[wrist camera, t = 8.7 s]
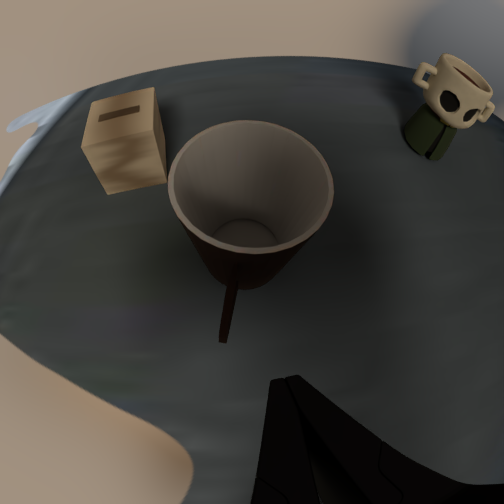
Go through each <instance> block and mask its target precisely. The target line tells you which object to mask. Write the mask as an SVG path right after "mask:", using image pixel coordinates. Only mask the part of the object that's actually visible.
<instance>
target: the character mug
mask: <svg viewBox="0 0 504 504" xmlns="http://www.w3.org/2000/svg"><path fill="white" fill-rule="evenodd" d="M426 71H428V72H430V73H431V75H430V77H429V79H428V80H427V82H425V81H423V80H422V77H423V75H424V74H425V72H426ZM412 82H413V83H414V84H415V85H417V86H419V87H421V88H423V89H424V90H423V97H424V99H425V100H426V102H427V103H425V104H423V105H422V106H421V107H420V108H419V109H418V111H417V112H416V113H415V114H414V115H413V116H412V117H411V119H410V120H409V121H408V123H407V124H406V125H405V129H404V132H405V136H406V140H407V141H408V143H409V144H410V145H411V147H412V148H413V149H414V150H415V151H417V152H418V153H419V154H420V155H422V156H424V154H425V153H426V152H427V151H428V152H432V155H431V156H430V158H429V159H430V160H439V159H440V158H441V157H442V156H443V155H444V153H445V152H446V150H447V149H448V147H449V145H450V143H451V141H452V140H453V138H454V136H455V134H456V132H457V128H458V129H464V128H469V127H470V126H471V125H472V124H474V122H475V121H476V120H479V121H480V122H483V123H484V122H485V121H486V120H487V119H488V118H489V116H490V115H491V114H492V112H493V111H494V108H495V106H494V104H493V103H491V102H490V101H489V100H490V98H491V97H492V95H493V91H492V88H491V87H490V86H489V84H488V83H487V81H486V80H485V79H484V78H483V77H482V76H480V74H479V73H478V72H476V71H475V70H474V69H473V68H472V67H470V66H469V65H468V64H466V63H465V62H463V61H462V60H460V59H459V58H457V57H455V56H453V55H450V54H447V53H443V54H442V55H441V56H440V58H439V60H438V62H437V64H436V66H435V67H433V66H432V65H429V64H427V63H425V62H422V63H421V64H420V65H419V67H418V69H417V71H416V72H415V74H414V76H413V79H412ZM485 106H486V108H485ZM484 108H485V110H484ZM483 110H484V111H483ZM482 112H483V113H482ZM481 113H482V114H481Z"/></svg>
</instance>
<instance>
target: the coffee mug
mask: <svg viewBox="0 0 504 504" xmlns="http://www.w3.org/2000/svg"><path fill="white" fill-rule="evenodd" d="M168 192H169V197H170V201H171V204H172V206H173V208H174V210H175V212H176V214H177V216H178V218H179V220H180V222H181V223H182V225H183V227H184V229H185V230H186V232H187V234H188V236H189V237H190V239H191V241H192V242H193V244H194V246H195V248H196V249H197V251H198V253H199V254H200V256H201V258H202V259H203V261H204V263H205V265H206V266H207V268H208V270H209V271H210V273H211V274H212V275H213V276H214V277H215V279H217V280H218V281H219V282H221V283H222V284H224V285H226V286H227V289H226V294H225V300H224V306H223V312H222V318H221V324H220V331H219V342H220V343H227V338H228V334H229V329H230V325H231V320H232V315H233V310H234V305H235V300H236V295H237V291H238V289H242V290H247V289H254V288H257V287H260V286H262V285H264V284H266V283H267V282H268V281H270V280H271V279H272V278H273V277H274V276H275V275H276V274H277V273H278V272H279V271H280V270H281V269H282V268H283V267H284V266H285V265H286V263H287V262H288V261H289V260H290V259H291V258H292V257H293V256H294V255H295V254H296V253H297V252H298V251H299V250H300V249H301V248H302V246H303V245H304V244H305V243H306V242H307V241H308V240H309V239H310V238H311V237H312V236H313V235H314V234H315V233H316V231H317V230H318V229H319V228H320V227H321V225H322V224H323V222H324V221H325V220H326V218H327V217H328V214H329V212H330V209H331V207H332V203H333V196H334V186H333V178H332V175H331V172H330V169H329V167H328V165H327V163H326V161H325V160H324V158H323V156H322V155H321V154H320V153H319V151H318V150H317V149H316V148H315V147H314V146H313V145H312V144H311V143H310V142H308V141H307V140H306V139H305V138H303V137H302V136H300V135H299V134H297V133H295V132H293V131H292V130H290V129H287V128H285V127H282V126H279V125H276V124H272V123H268V122H264V121H254V120H241V121H232V122H226V123H222V124H219V125H216V126H213V127H210V128H208V129H206V130H204V131H202V132H200V133H199V134H197V135H196V136H194V137H193V138H192V139H190V140H189V141H188V142H187V143H186V144H185V145H184V146H183V147H182V148H181V150H180V151H179V152H178V153H177V155H176V157H175V159H174V161H173V163H172V165H171V168H170V172H169V176H168Z"/></svg>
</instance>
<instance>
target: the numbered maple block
mask: <svg viewBox="0 0 504 504" xmlns="http://www.w3.org/2000/svg"><path fill="white" fill-rule="evenodd" d="M81 148H82V150H83V152H84V154H85V155H86V157H87V159H88V161H89V163H90V165H91V166H92V168H93V170H94V172H95V174H96V175H97V177H98V179H99V181H100V182H101V184H102V186H103V187H104V189H105V191H106V193H107V194H108V195H109V194H114V193H118V192H123V191H128V190H132V189H137V188H142V187H147V186H152V185H157V184H163V183H167V170H166V150H165V136H164V132H163V127H162V123H161V118H160V113H159V108H158V103H157V98H156V93H155V88H154V87H152V88H147V89H142V90H138V91H133V92H129V93H125V94H121V95H117V96H113V97H109V98H106V99H102V100H98V101H95V102H92V105H91V108H90V112H89V116H88V120H87V124H86V128H85V132H84V137H83V141H82V146H81Z"/></svg>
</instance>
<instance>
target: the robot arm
mask: <svg viewBox="0 0 504 504" xmlns="http://www.w3.org/2000/svg"><path fill="white" fill-rule="evenodd" d="M317 491H318V493H319V495H320V497H321V500H322V502H323V504H504V484H488V485H472V484H465V483H461V482H458V481H455V480H453V479H450V478H448V477H446V476H444V475H441V474H439V473H437V472H435V471H433V470H431V469H429V468H427V467H425V466H423V465H421V464H419V463H417V462H415V461H413V460H411V459H410V458H408V457H406V456H405V455H403V454H401V453H400V452H398V451H397V450H395V449H394V448H392V447H391V446H390V445H388V444H387V443H386V442H384V441H382V440H381V439H380V438H378V437H377V436H376V435H374V434H373V433H372V432H370V431H369V430H368V429H366V428H365V427H364V426H362V425H361V424H360V423H358V422H357V421H356V420H354V419H353V418H352V417H351V416H349V415H348V414H347V413H345V412H344V411H343V410H342V409H340V408H339V407H338V406H336V405H335V404H334V403H333V402H331V401H330V400H329V399H328V398H326V397H325V396H324V395H323V394H321V393H320V392H319V391H318V390H317V389H315V388H314V387H313V386H312V385H310V384H309V383H308V382H307V381H306V380H304V379H303V378H302V377H301V376H299V375H293V376H288V377H286V378H285V379H284V378H279V379H274V380H271V381H270V385H269V393H268V400H267V407H266V414H265V421H264V428H263V435H262V441H261V448H260V454H259V461H258V467H257V473H256V478H255V484H254V490H253V494H252V499H251V503H250V504H320V502H319V497H318V493H317Z"/></svg>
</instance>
